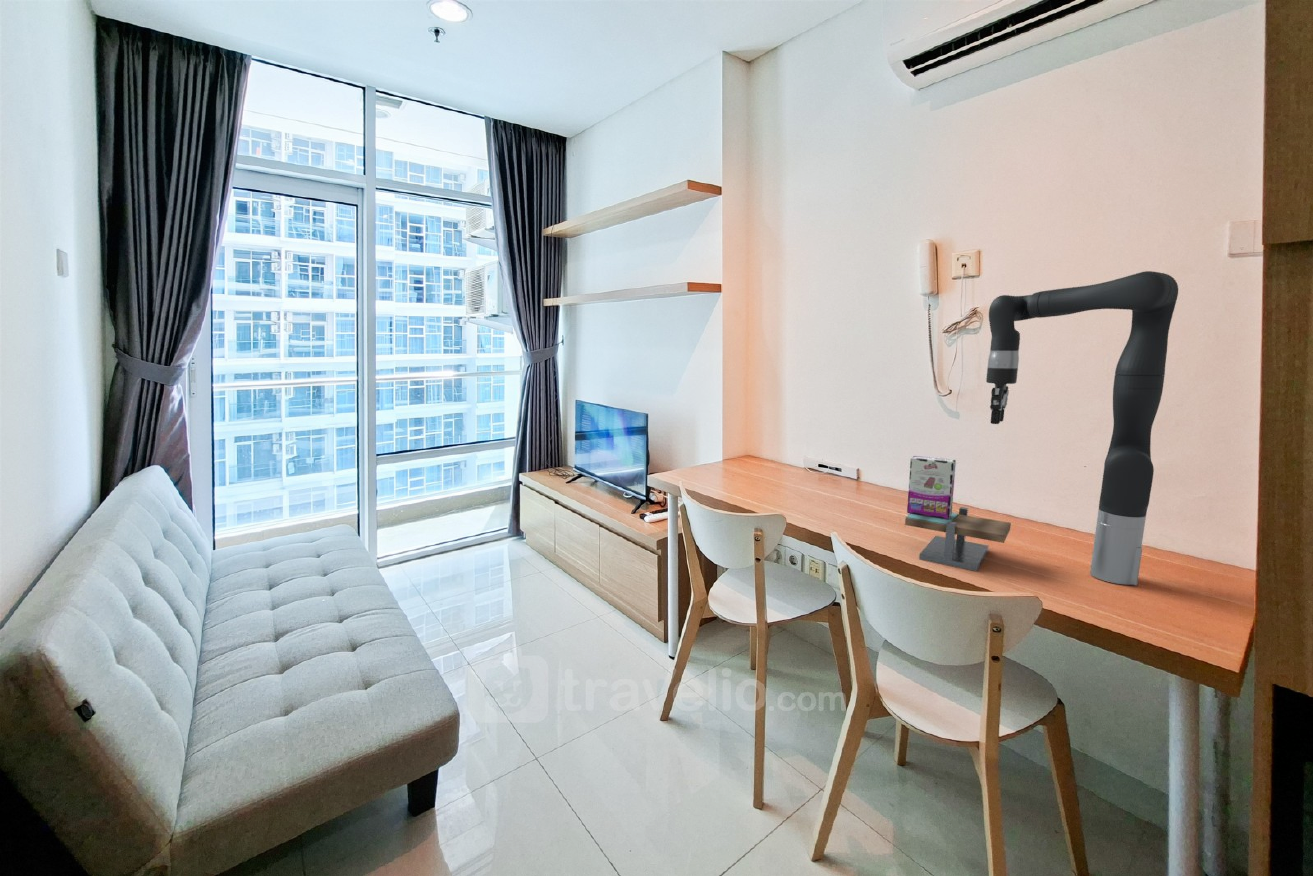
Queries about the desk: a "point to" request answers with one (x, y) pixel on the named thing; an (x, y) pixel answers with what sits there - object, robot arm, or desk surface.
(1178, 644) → the desk surface
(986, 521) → the balance beam
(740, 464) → the desk surface
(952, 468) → the candy bar box
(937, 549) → the beam stand
